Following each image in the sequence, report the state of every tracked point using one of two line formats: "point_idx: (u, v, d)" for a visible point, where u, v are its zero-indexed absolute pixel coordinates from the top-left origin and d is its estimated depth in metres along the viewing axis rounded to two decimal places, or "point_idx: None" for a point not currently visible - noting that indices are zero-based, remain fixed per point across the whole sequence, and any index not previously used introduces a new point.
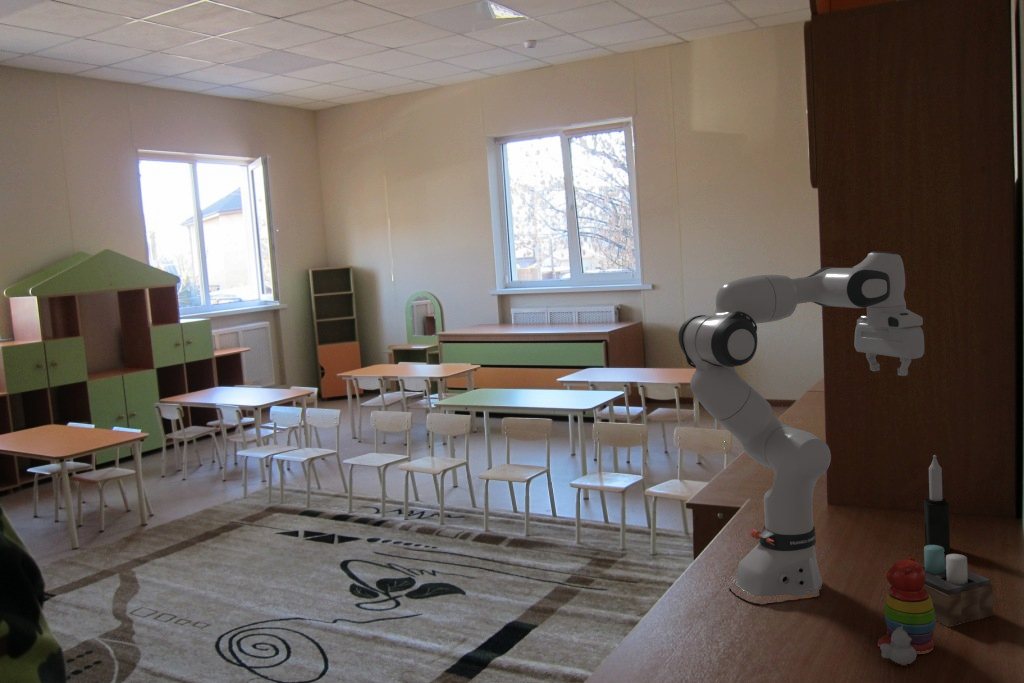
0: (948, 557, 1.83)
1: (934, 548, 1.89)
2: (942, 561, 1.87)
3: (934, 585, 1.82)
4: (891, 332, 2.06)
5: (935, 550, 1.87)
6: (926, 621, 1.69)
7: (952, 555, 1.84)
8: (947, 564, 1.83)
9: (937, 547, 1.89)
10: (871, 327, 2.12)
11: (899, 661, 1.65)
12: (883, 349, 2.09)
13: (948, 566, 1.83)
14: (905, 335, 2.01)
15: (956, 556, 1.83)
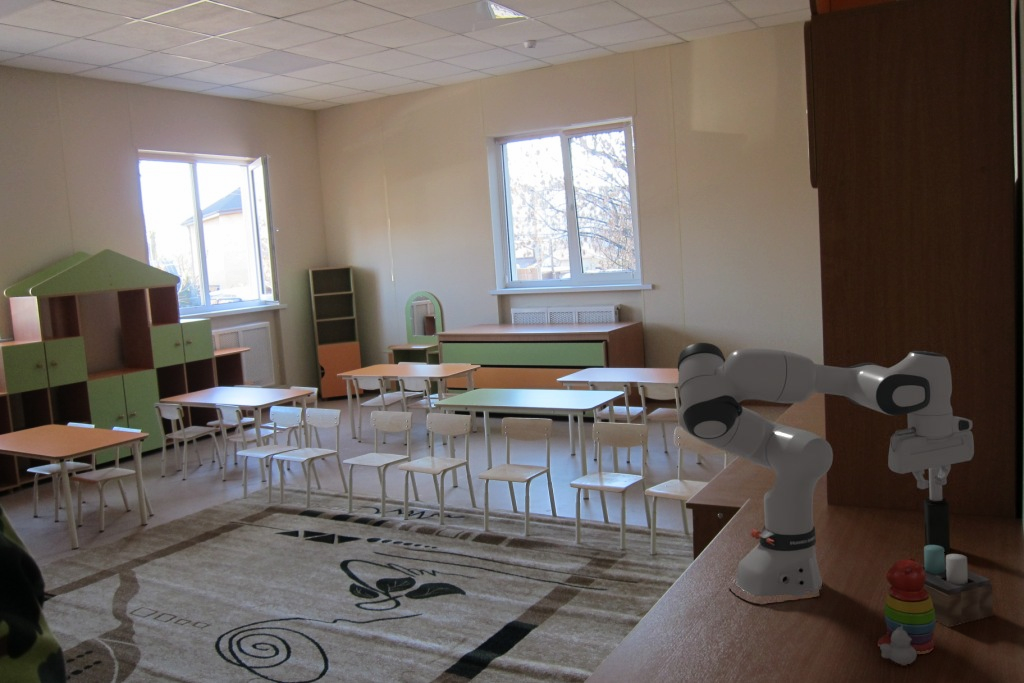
0: (948, 557, 1.83)
1: (934, 548, 1.89)
2: (942, 561, 1.87)
3: (934, 585, 1.82)
4: (952, 438, 1.85)
5: (935, 550, 1.87)
6: (926, 621, 1.69)
7: (952, 555, 1.84)
8: (947, 564, 1.83)
9: (937, 547, 1.89)
10: (924, 439, 1.83)
11: (899, 661, 1.65)
12: (940, 459, 1.85)
13: (948, 566, 1.83)
14: (971, 436, 1.86)
15: (956, 556, 1.83)
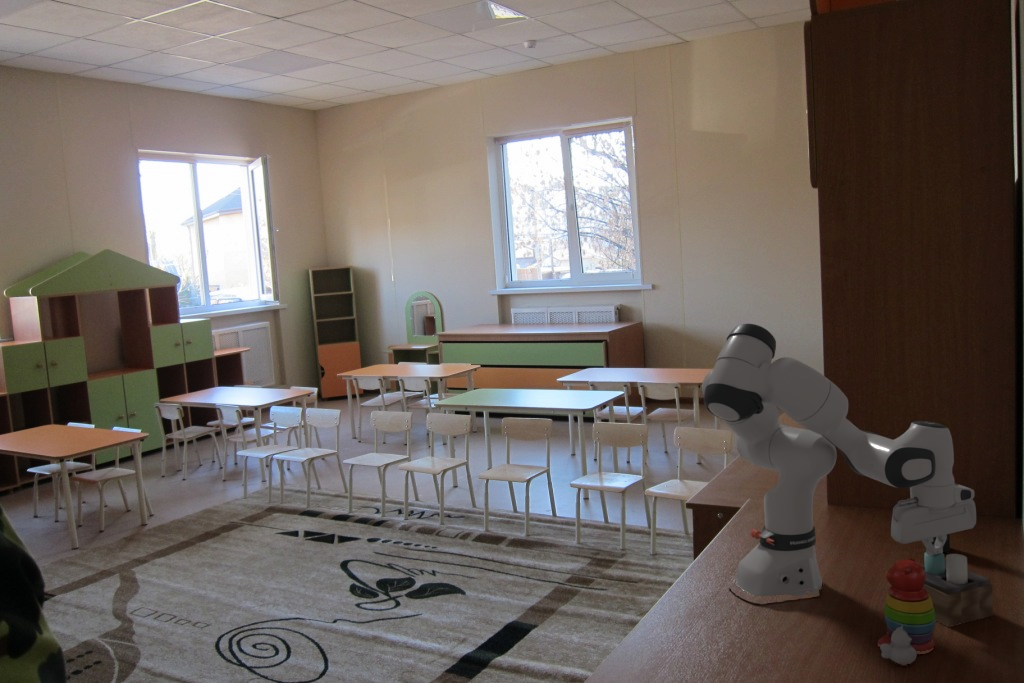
0: (948, 557, 1.83)
1: None
2: (942, 567, 1.88)
3: (934, 585, 1.82)
4: (954, 507, 1.87)
5: (935, 557, 1.88)
6: (926, 621, 1.69)
7: (952, 555, 1.84)
8: (947, 564, 1.83)
9: None
10: (926, 509, 1.85)
11: (899, 661, 1.65)
12: (942, 529, 1.87)
13: (948, 566, 1.83)
14: (973, 505, 1.88)
15: (956, 556, 1.83)
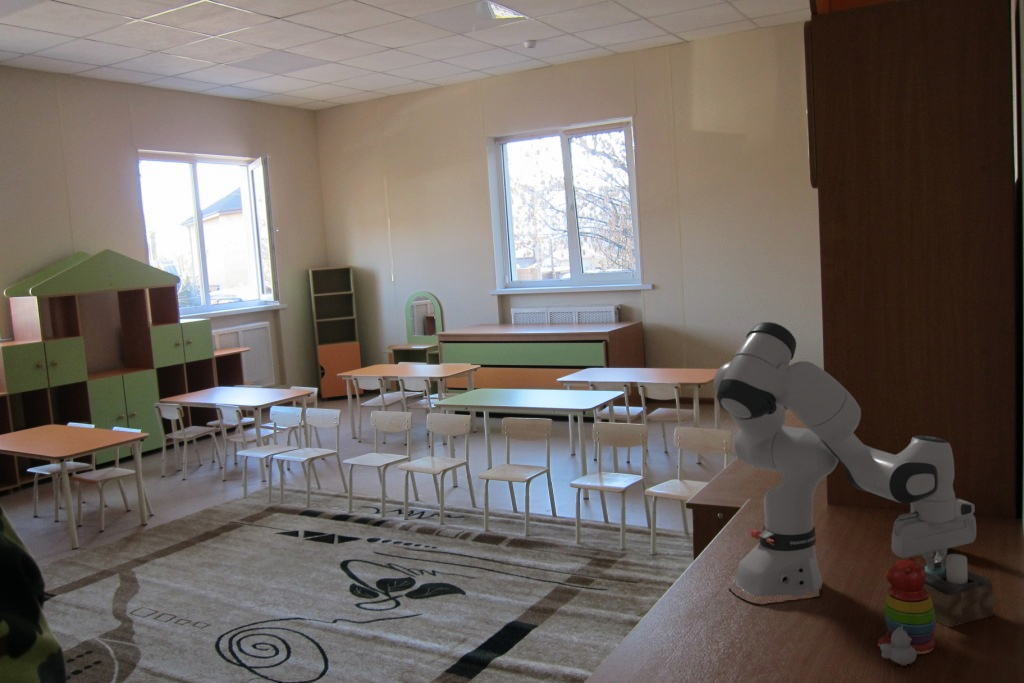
0: (948, 557, 1.83)
1: None
2: None
3: (934, 585, 1.82)
4: (954, 522, 1.87)
5: (935, 571, 1.88)
6: (926, 621, 1.69)
7: (952, 555, 1.84)
8: (947, 564, 1.83)
9: None
10: (927, 524, 1.85)
11: (899, 661, 1.65)
12: (942, 543, 1.87)
13: (948, 566, 1.83)
14: (973, 519, 1.88)
15: (956, 556, 1.83)
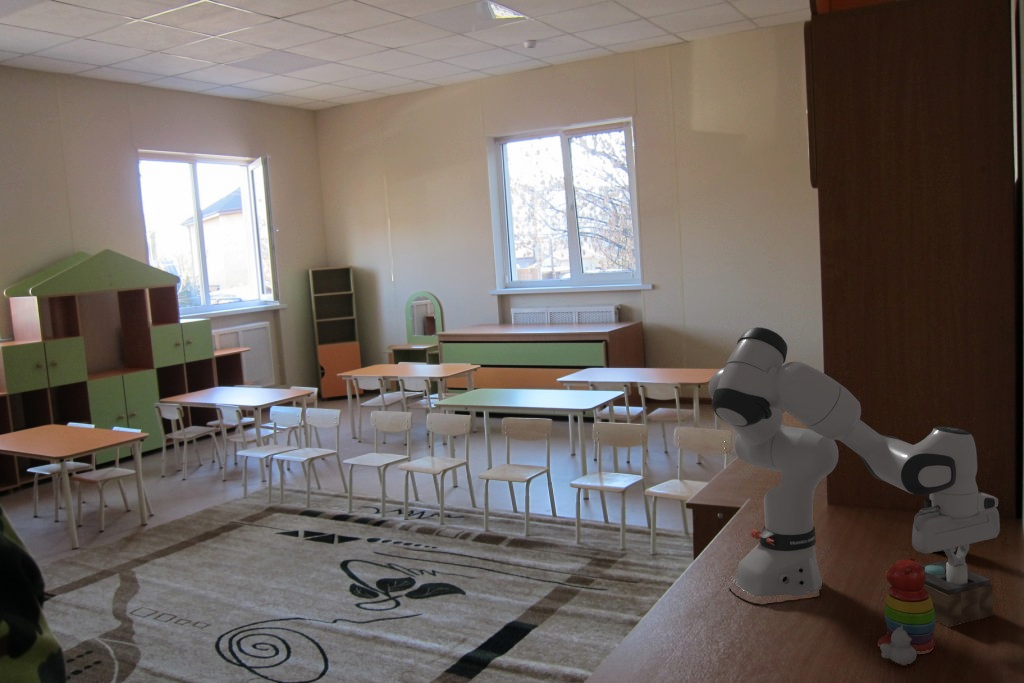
0: (948, 564, 1.83)
1: (934, 569, 1.89)
2: None
3: (934, 585, 1.82)
4: (977, 516, 1.81)
5: (935, 571, 1.88)
6: (926, 621, 1.69)
7: None
8: (947, 571, 1.83)
9: (938, 567, 1.90)
10: (949, 518, 1.79)
11: (899, 661, 1.65)
12: (965, 538, 1.81)
13: (948, 573, 1.83)
14: (997, 513, 1.82)
15: None
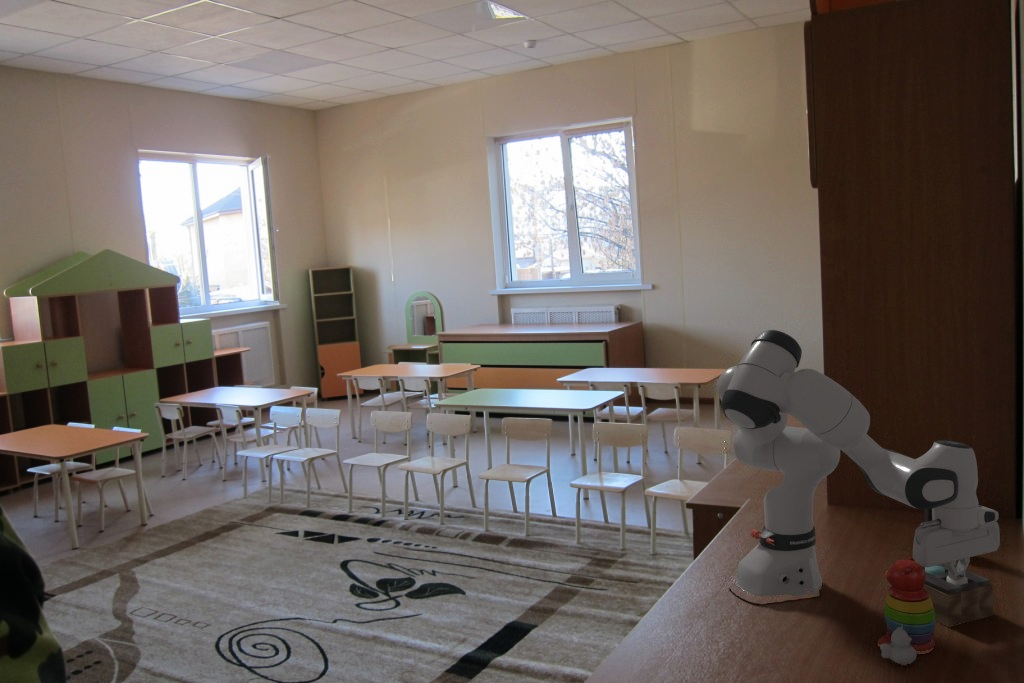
0: (949, 578, 1.84)
1: (934, 569, 1.89)
2: None
3: (934, 585, 1.82)
4: (977, 529, 1.81)
5: (935, 571, 1.88)
6: (926, 621, 1.69)
7: None
8: None
9: (938, 567, 1.90)
10: (949, 532, 1.80)
11: (899, 661, 1.65)
12: (965, 551, 1.81)
13: None
14: (997, 527, 1.83)
15: None
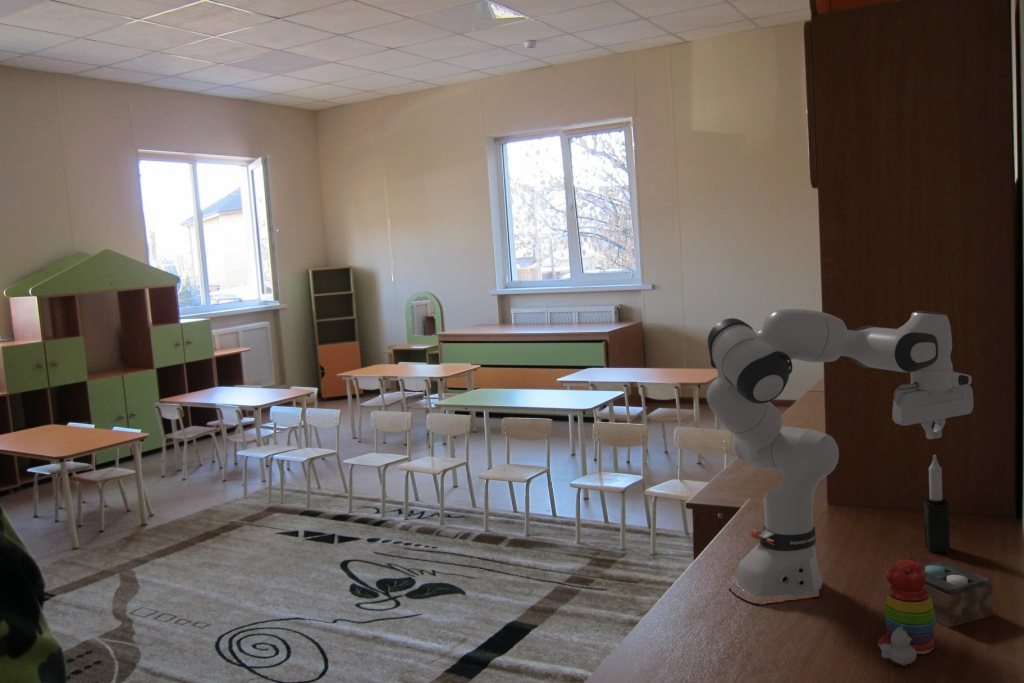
0: (949, 578, 1.84)
1: (934, 569, 1.89)
2: None
3: (934, 585, 1.82)
4: (952, 392, 1.98)
5: (935, 571, 1.88)
6: (926, 621, 1.69)
7: (953, 576, 1.85)
8: None
9: (938, 567, 1.90)
10: (926, 393, 1.96)
11: (899, 661, 1.65)
12: (941, 412, 1.98)
13: None
14: (970, 390, 1.99)
15: (957, 577, 1.84)
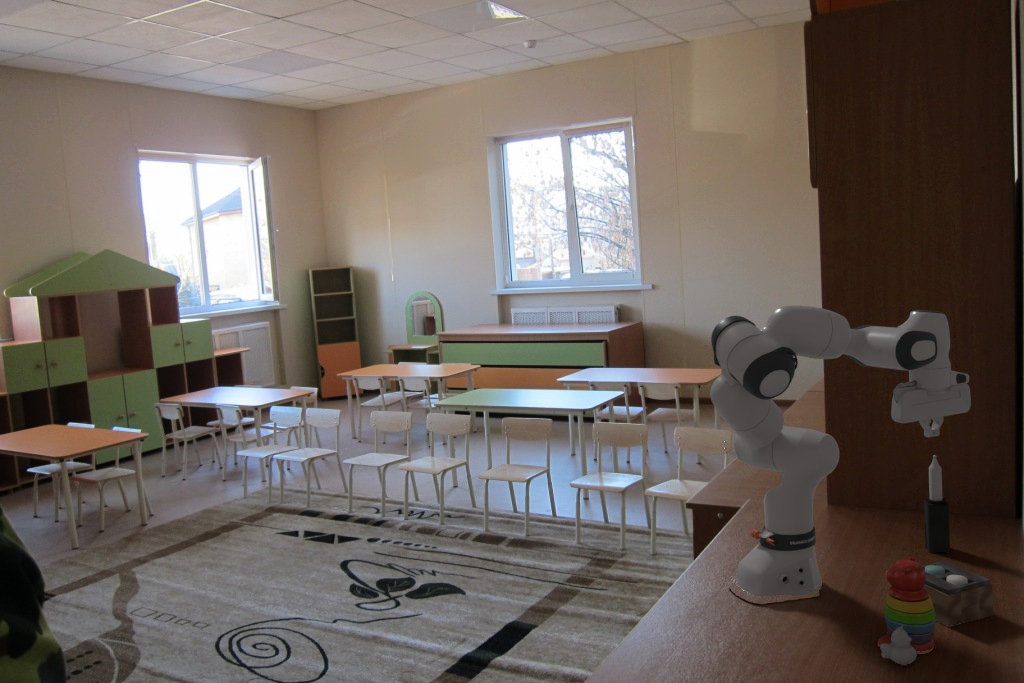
0: (949, 578, 1.84)
1: (934, 569, 1.89)
2: None
3: (934, 585, 1.82)
4: (950, 391, 2.00)
5: (935, 571, 1.88)
6: (926, 621, 1.69)
7: (953, 576, 1.85)
8: None
9: (938, 567, 1.90)
10: (924, 391, 1.98)
11: (899, 661, 1.65)
12: (939, 410, 1.99)
13: None
14: (968, 389, 2.01)
15: (957, 577, 1.84)
